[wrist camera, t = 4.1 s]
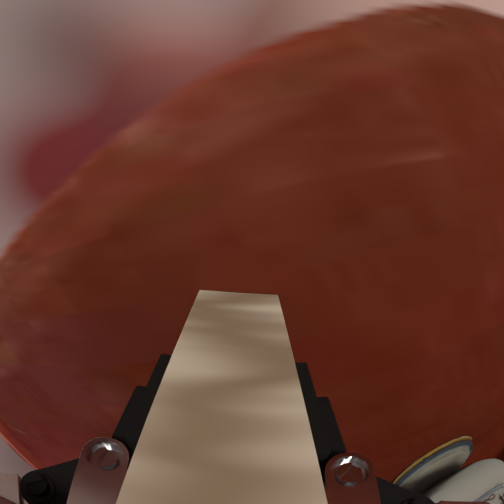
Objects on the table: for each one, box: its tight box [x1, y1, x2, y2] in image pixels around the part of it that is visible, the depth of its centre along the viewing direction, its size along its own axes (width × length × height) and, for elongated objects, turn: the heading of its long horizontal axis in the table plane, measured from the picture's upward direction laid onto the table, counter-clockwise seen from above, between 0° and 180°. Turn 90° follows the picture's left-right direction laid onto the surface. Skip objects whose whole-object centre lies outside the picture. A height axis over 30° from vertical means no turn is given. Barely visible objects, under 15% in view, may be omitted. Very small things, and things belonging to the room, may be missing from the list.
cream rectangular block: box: [116, 290, 328, 504], centre depth 8 cm, size 4×4×12 cm
